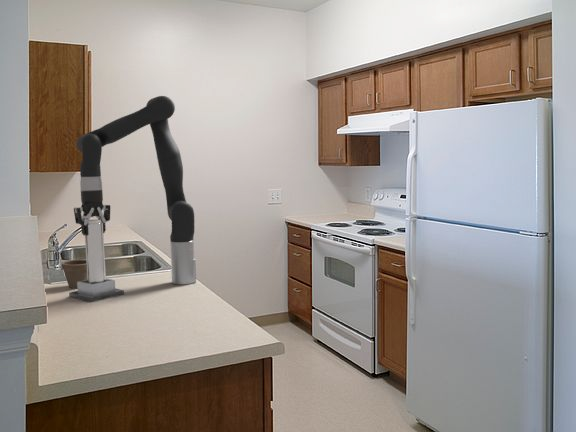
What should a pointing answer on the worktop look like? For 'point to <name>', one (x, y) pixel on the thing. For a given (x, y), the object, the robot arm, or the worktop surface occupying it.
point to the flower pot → (75, 271)
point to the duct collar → (96, 290)
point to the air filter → (95, 252)
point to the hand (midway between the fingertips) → (93, 234)
